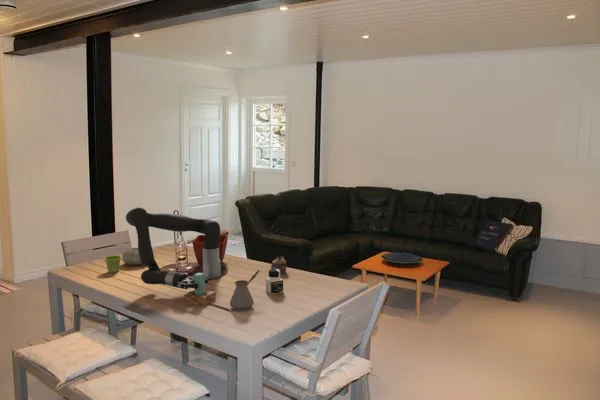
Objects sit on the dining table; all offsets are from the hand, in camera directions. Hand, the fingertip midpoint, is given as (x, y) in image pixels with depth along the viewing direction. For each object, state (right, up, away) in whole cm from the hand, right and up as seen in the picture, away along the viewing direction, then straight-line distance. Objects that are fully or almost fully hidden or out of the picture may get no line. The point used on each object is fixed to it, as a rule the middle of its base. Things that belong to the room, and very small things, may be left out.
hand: (202, 284), depth 242 cm
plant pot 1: (-64, -2, +51) cm, 81 cm away
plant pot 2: (-8, +1, +68) cm, 68 cm away
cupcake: (+35, -2, +50) cm, 61 cm away
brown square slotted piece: (-2, -9, +2) cm, 9 cm away
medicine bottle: (+34, -7, +16) cm, 39 cm away
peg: (-2, -9, +2) cm, 9 cm away
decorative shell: (-55, +1, +68) cm, 87 cm away
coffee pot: (+22, -10, -3) cm, 25 cm away
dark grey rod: (+9, -10, -6) cm, 15 cm away
